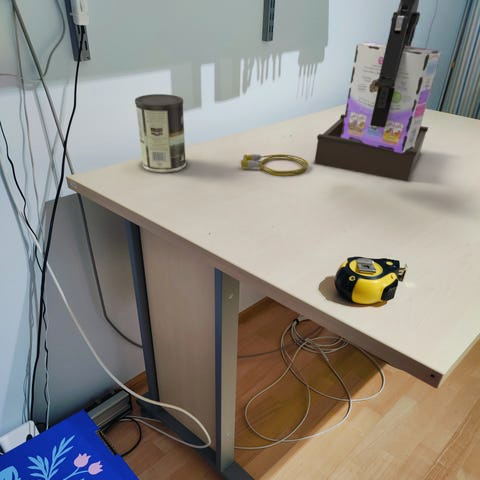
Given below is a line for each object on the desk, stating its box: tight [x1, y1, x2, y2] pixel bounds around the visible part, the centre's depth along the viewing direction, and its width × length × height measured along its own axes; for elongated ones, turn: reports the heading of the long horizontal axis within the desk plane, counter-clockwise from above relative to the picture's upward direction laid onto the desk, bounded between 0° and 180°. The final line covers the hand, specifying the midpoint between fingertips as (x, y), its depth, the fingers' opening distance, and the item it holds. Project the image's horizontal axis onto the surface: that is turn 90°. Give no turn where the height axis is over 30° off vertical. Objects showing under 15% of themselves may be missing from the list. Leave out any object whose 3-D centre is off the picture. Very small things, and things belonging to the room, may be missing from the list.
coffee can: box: [134, 93, 187, 173], centre depth 95 cm, size 10×10×14 cm
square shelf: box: [314, 113, 429, 182], centre depth 106 cm, size 23×23×7 cm
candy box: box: [341, 41, 443, 153], centre depth 79 cm, size 14×6×16 cm, turn 47°
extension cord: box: [240, 153, 309, 177], centre depth 101 cm, size 12×16×2 cm
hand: (381, 121), depth 82 cm, fingers closed on candy box, 7 cm apart
